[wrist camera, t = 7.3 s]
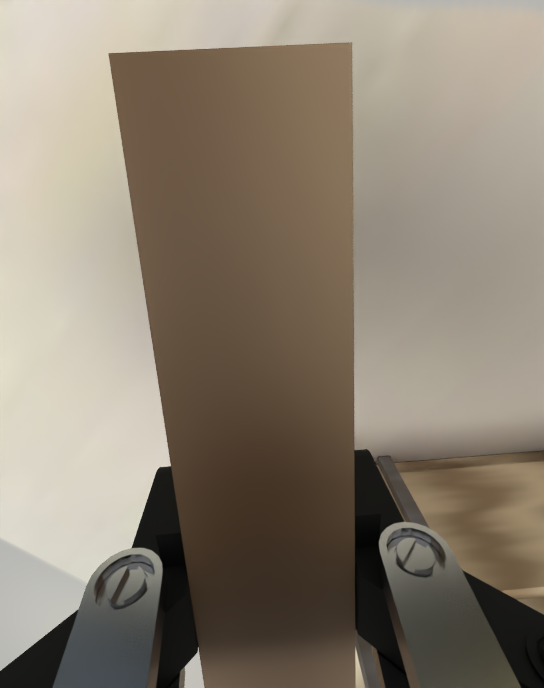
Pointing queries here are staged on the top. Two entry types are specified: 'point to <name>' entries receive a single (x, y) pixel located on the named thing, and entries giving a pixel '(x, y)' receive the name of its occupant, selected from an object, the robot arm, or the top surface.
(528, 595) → the open wooden box
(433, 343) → the top surface
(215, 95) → the plank
